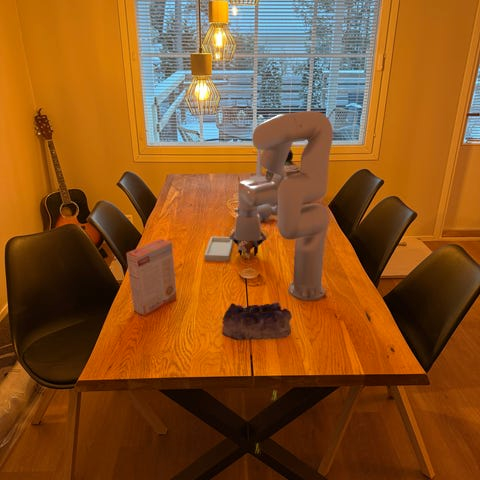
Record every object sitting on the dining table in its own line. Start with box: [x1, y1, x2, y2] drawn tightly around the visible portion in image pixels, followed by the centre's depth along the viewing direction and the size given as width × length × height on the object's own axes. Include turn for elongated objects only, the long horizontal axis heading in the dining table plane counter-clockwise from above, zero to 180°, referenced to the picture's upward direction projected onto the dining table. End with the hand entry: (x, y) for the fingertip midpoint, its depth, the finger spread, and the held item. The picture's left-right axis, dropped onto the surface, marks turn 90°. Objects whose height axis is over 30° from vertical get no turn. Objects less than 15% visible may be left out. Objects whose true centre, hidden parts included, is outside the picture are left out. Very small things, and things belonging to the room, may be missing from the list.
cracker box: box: [125, 238, 178, 317], centre depth 140 cm, size 14×6×21 cm, turn 141°
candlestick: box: [248, 149, 267, 184], centre depth 276 cm, size 13×13×30 cm
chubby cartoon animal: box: [258, 204, 278, 223], centre depth 213 cm, size 8×12×9 cm, turn 89°
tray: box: [204, 236, 234, 262], centre depth 182 cm, size 19×10×2 cm, turn 176°
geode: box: [221, 301, 293, 341], centre depth 129 cm, size 20×12×10 cm, turn 98°
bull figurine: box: [236, 241, 255, 258], centre depth 176 cm, size 4×13×8 cm, turn 155°
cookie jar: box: [265, 148, 305, 207], centre depth 232 cm, size 25×25×32 cm
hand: (248, 253), depth 178 cm, fingers closed on bull figurine, 5 cm apart
